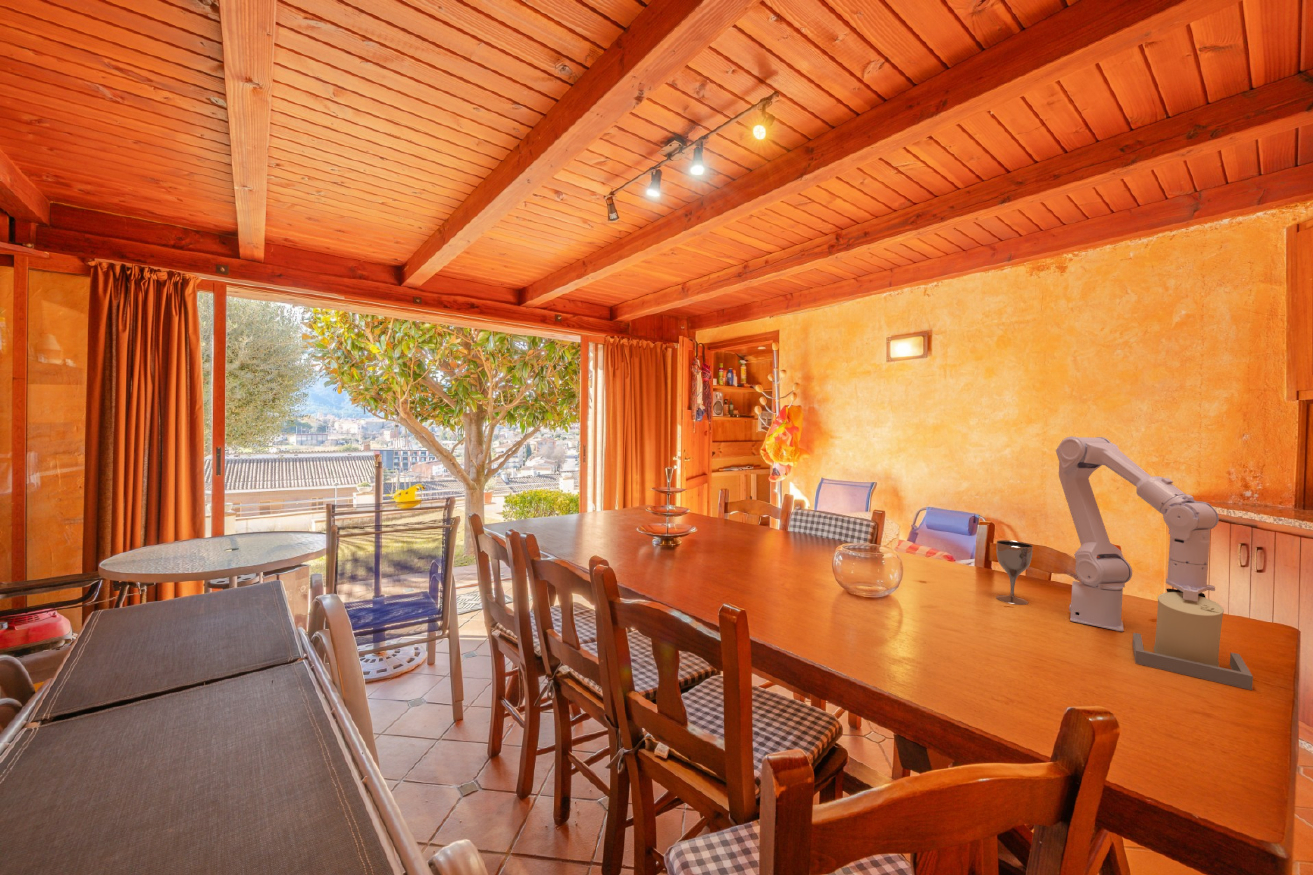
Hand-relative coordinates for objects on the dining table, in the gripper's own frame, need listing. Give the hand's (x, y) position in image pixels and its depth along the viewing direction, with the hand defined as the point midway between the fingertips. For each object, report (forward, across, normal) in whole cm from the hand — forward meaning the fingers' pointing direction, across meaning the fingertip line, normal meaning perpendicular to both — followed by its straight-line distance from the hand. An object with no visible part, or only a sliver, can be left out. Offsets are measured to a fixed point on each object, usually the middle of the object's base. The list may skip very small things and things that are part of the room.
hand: (1183, 626), depth 109 cm
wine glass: (+6, +15, +31) cm, 35 cm away
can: (+5, -5, 0) cm, 7 cm away
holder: (+5, -7, 0) cm, 9 cm away
